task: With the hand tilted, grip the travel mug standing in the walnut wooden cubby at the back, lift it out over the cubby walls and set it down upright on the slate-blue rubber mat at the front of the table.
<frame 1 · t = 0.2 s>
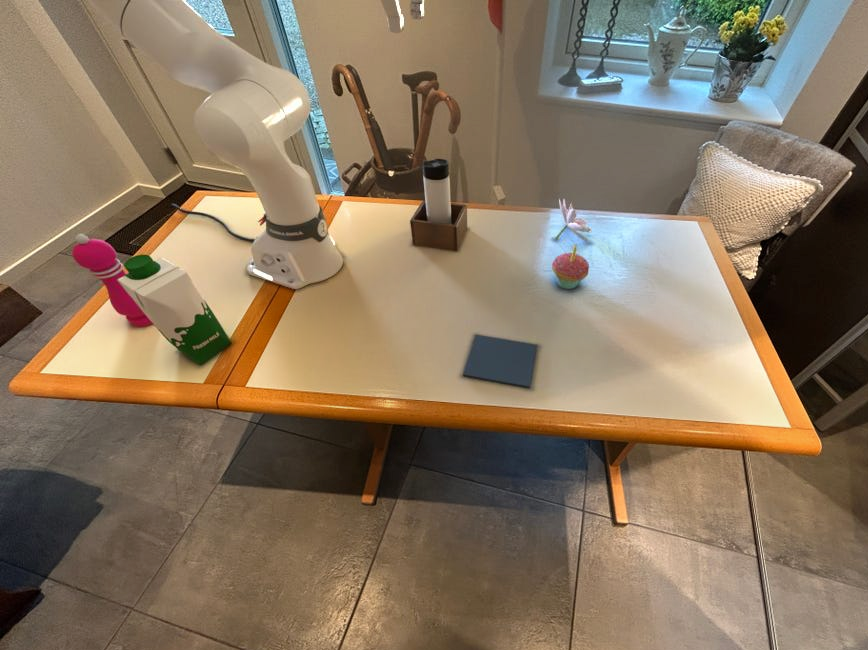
hand: (407, 24, 59), 48 cm above the table, tool pointing down, fingers open, 8 cm apart
cupcake: (566, 283, 96), on the table
water lily: (572, 238, 109), on the table
travel mug: (440, 237, 108), resting in cubby
mat: (501, 360, 80), on the table
pepper mill: (148, 317, 87), on the table
cubby: (440, 236, 108), on the table
milk carton: (206, 348, 81), on the table
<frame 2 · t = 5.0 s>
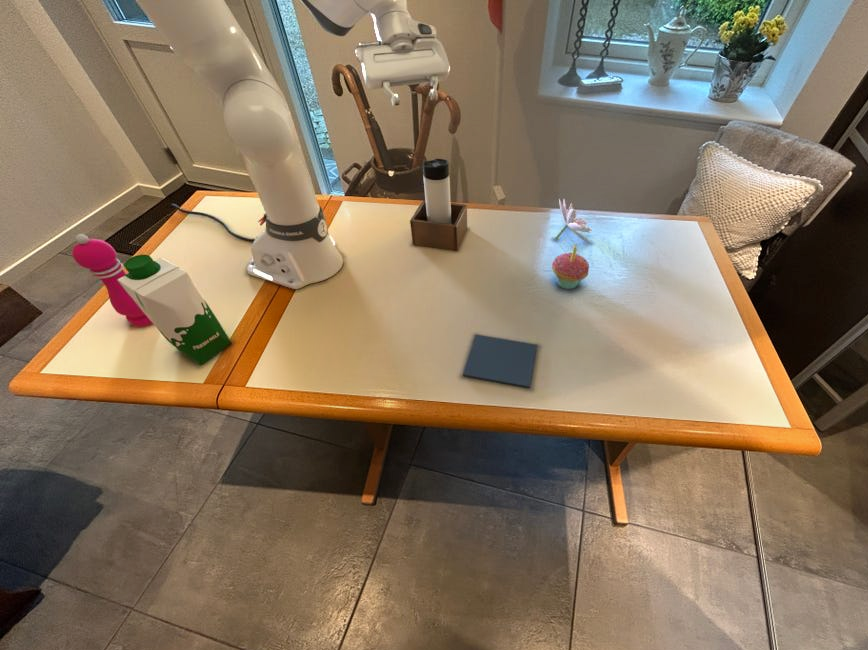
hand: (415, 101, 94), 29 cm above the table, tool tilted 45°, fingers open, 8 cm apart
nothing on the table moved.
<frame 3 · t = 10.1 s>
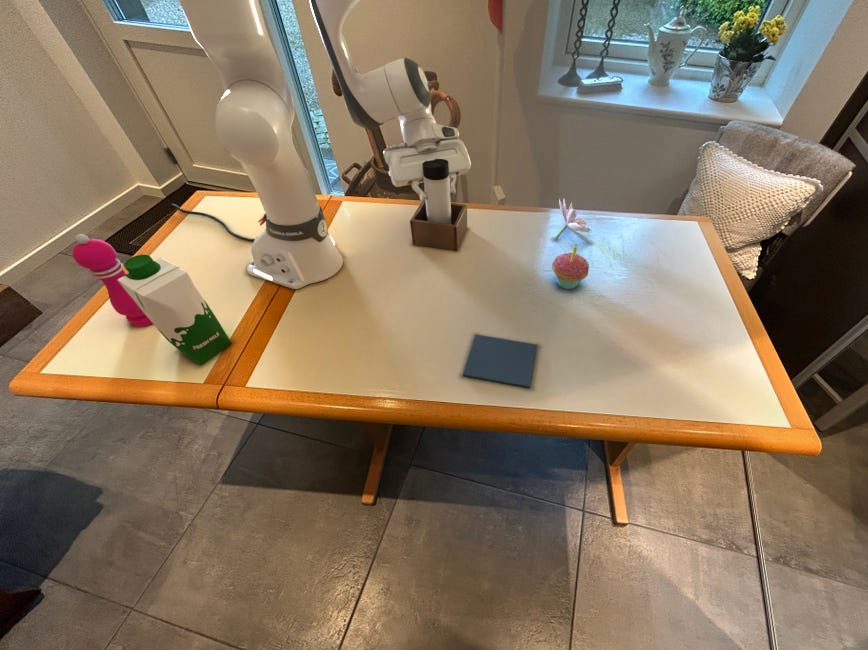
hand: (439, 197, 99), 11 cm above the table, tool tilted 45°, fingers closed on travel mug, 6 cm apart
travel mug: (440, 236, 109), resting in cubby, touching gripper
everything else where it was.
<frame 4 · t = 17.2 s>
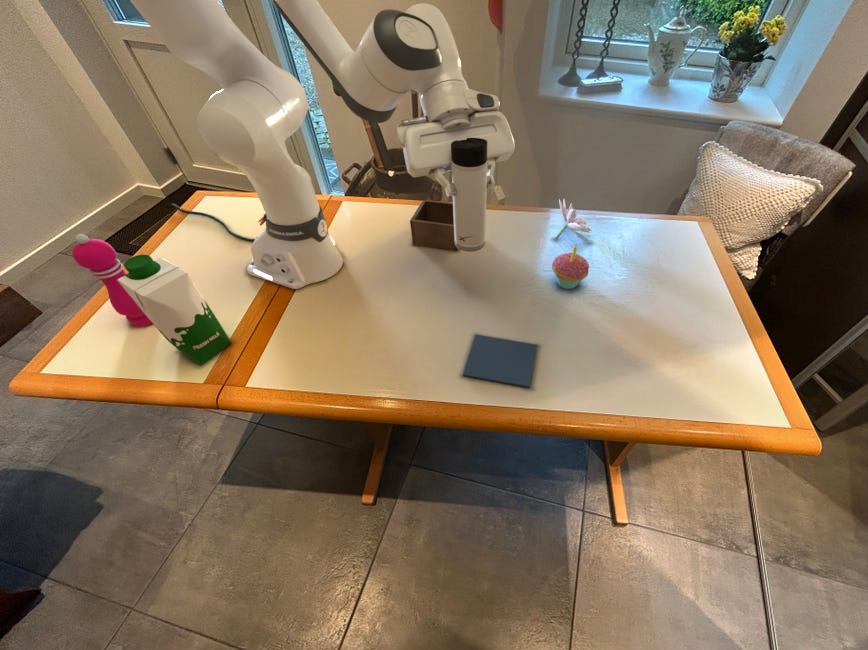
hand: (471, 191, 73), 25 cm above the table, tool tilted 45°, fingers closed on travel mug, 6 cm apart
travel mug: (470, 244, 82), point 14 cm above the table, touching gripper
everything else where it was.
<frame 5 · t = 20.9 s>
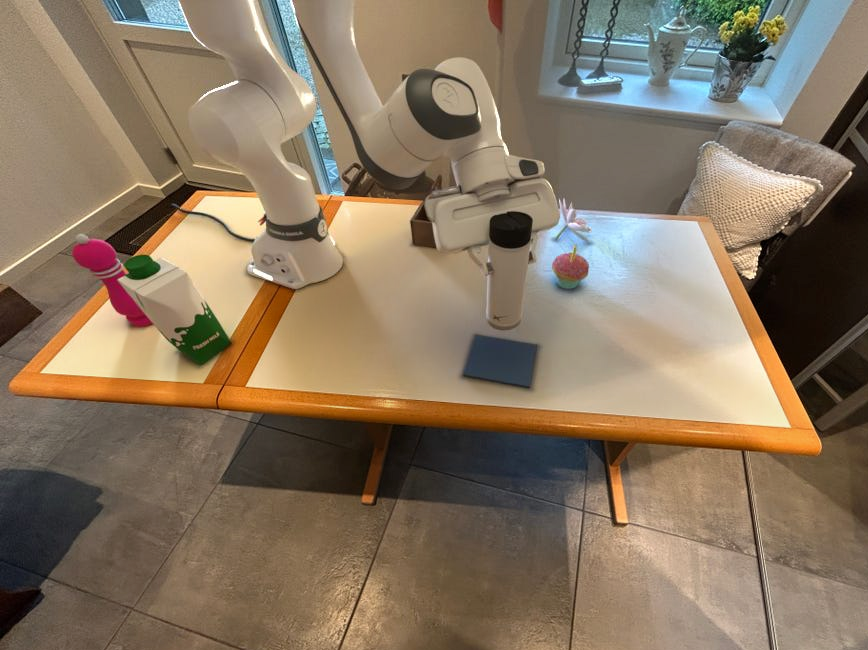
hand: (510, 269, 63), 22 cm above the table, tool tilted 45°, fingers closed on travel mug, 6 cm apart
travel mug: (503, 320, 72), point 11 cm above the table, touching gripper
everything else where it was.
when the fingers open (12 cm above the table, at t = 24.2 s): travel mug stays where it is, resting on mat.
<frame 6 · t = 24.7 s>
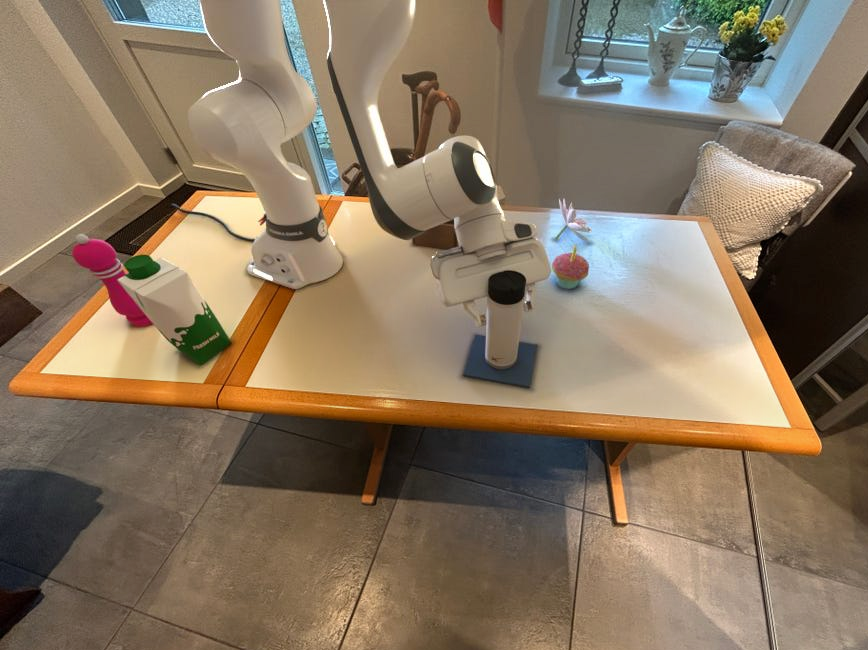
hand: (506, 318, 70), 12 cm above the table, tool tilted 45°, fingers open, 8 cm apart
travel mug: (501, 359, 79), resting on mat
everything else where it was.
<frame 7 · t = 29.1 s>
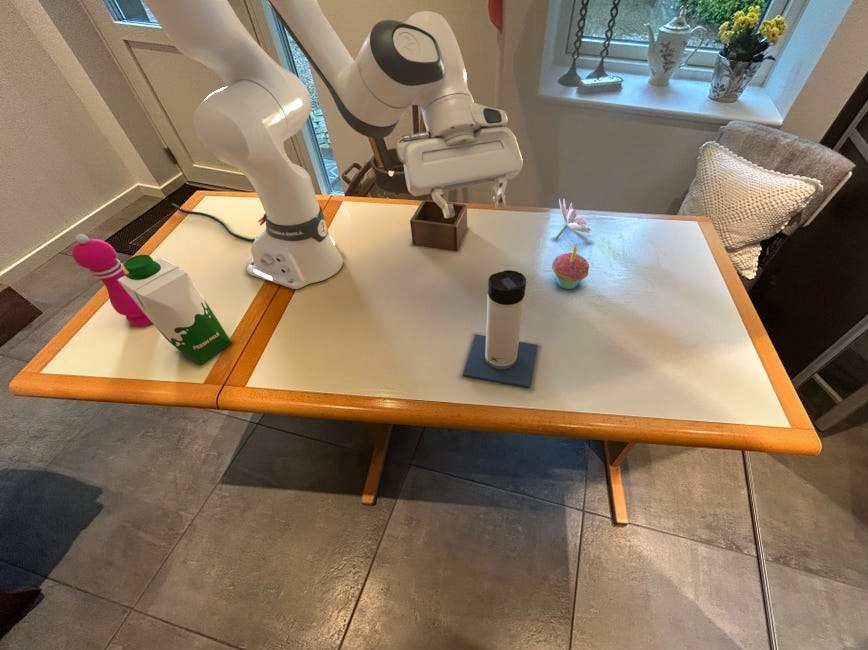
hand: (476, 211, 68), 25 cm above the table, tool tilted 45°, fingers open, 8 cm apart
nothing on the table moved.
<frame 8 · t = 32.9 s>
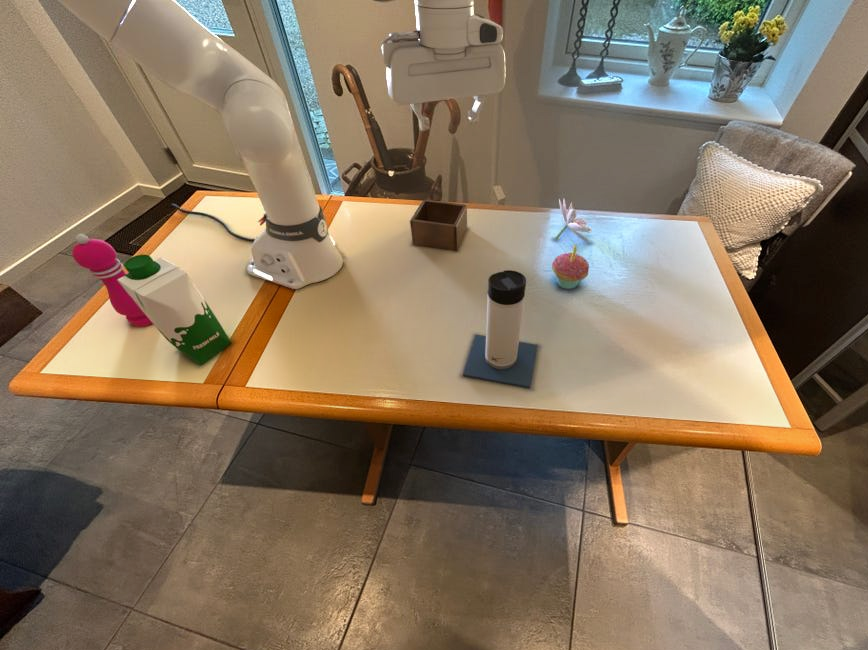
hand: (449, 125, 73), 33 cm above the table, tool pointing down, fingers open, 8 cm apart
nothing on the table moved.
at the end: travel mug inside the target area on the mat (0.1 cm from its centre), point 0.4 cm above the mat's base; travel mug tilted 0° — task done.
